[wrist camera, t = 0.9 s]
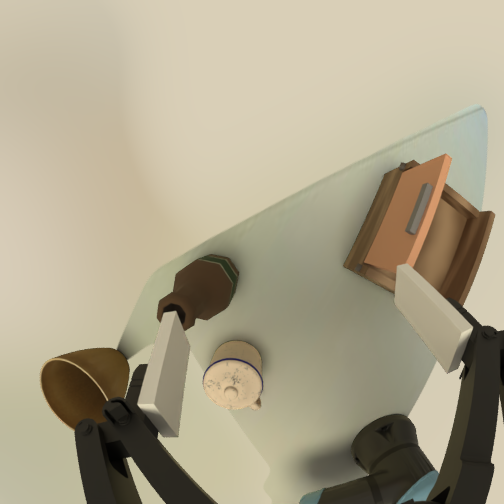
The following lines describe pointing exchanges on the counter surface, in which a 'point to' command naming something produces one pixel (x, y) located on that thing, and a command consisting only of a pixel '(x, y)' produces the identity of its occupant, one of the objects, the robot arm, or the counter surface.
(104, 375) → the plant pot
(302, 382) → the counter surface
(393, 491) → the robot arm
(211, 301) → the beer bottle
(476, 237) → the tray
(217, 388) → the teacup with lid
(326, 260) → the counter surface
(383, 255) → the orange rectangular slab
